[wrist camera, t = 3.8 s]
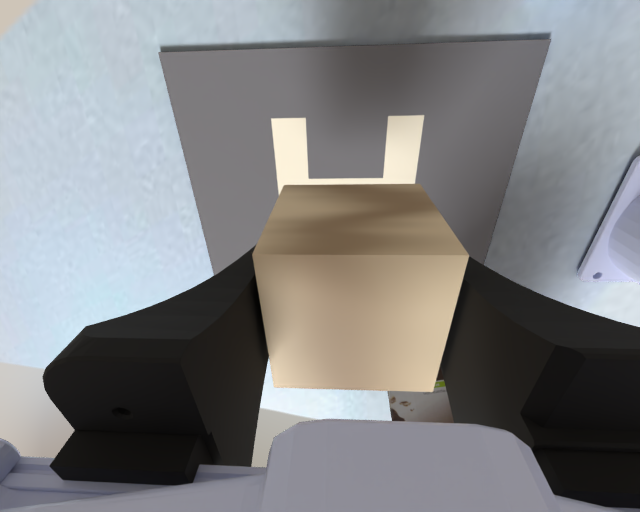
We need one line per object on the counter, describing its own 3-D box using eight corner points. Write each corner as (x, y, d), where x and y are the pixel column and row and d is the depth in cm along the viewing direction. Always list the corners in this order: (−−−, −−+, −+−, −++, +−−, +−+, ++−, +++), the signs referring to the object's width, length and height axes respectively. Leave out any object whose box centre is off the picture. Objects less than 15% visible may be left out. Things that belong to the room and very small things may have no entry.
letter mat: (548, 39, 14) (551, 39, 14) (474, 287, 21) (476, 289, 21) (160, 52, 15) (158, 52, 15) (218, 285, 22) (217, 287, 22)
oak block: (419, 183, 11) (469, 255, 7) (403, 292, 14) (432, 392, 10) (283, 184, 12) (252, 254, 7) (293, 290, 14) (274, 387, 10)
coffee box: (377, 341, 24) (427, 694, 11) (462, 327, 23) (641, 705, 10) (395, 408, 29) (447, 717, 15) (467, 399, 28) (594, 727, 14)
